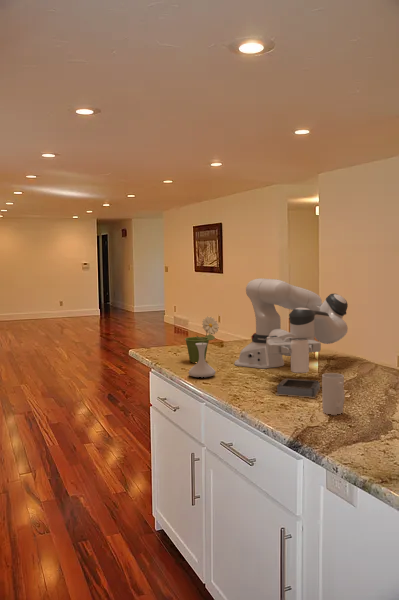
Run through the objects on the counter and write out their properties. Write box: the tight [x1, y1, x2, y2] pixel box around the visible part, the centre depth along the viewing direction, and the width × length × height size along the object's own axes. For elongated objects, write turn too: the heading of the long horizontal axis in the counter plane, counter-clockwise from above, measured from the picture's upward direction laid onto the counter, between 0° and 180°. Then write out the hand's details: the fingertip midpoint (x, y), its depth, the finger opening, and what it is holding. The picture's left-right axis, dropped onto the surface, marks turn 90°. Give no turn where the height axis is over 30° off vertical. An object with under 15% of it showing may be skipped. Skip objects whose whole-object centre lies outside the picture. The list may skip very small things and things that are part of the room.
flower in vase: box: [188, 316, 219, 379], centre depth 225 cm, size 13×11×25 cm
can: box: [290, 338, 310, 374], centre depth 197 cm, size 6×6×12 cm
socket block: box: [275, 378, 322, 399], centre depth 198 cm, size 14×14×3 cm
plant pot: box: [184, 336, 210, 364], centre depth 254 cm, size 12×12×11 cm
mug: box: [321, 372, 345, 416], centre depth 171 cm, size 10×7×12 cm, turn 15°
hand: (299, 350), depth 196 cm, fingers closed on can, 6 cm apart
